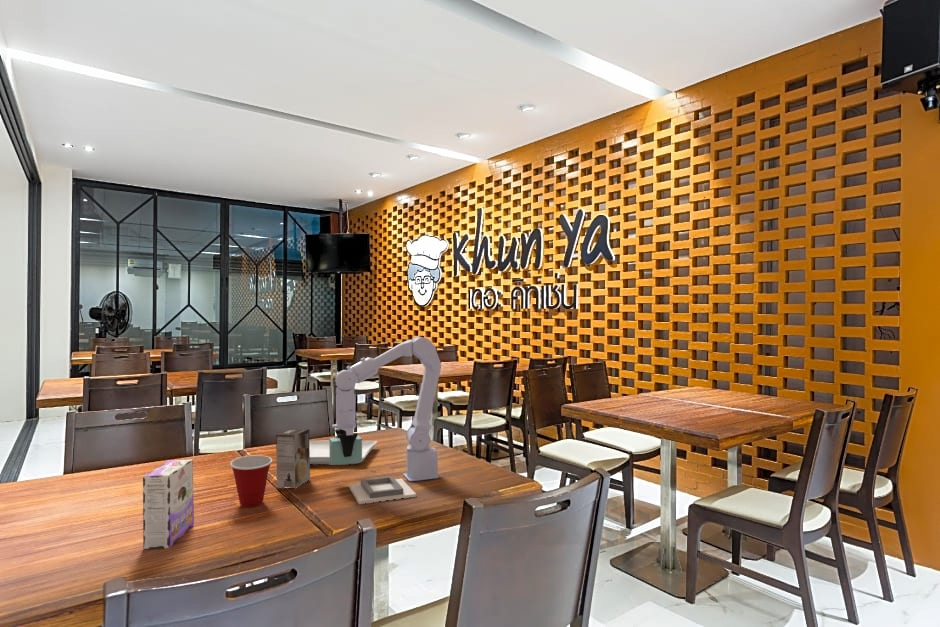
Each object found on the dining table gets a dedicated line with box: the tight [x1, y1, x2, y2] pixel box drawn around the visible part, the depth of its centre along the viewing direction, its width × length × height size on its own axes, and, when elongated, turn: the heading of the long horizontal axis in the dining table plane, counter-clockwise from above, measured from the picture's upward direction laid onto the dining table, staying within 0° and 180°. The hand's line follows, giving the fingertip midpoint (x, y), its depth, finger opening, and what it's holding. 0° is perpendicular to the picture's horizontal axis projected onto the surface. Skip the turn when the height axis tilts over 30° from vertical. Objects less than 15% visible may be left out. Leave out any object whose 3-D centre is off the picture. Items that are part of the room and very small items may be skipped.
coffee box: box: [275, 428, 311, 489], centre depth 171 cm, size 9×6×16 cm
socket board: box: [348, 475, 417, 505], centre depth 163 cm, size 16×16×2 cm
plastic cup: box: [229, 454, 273, 508], centre depth 154 cm, size 11×11×12 cm
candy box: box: [142, 458, 195, 550], centre depth 131 cm, size 14×6×16 cm, turn 5°
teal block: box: [328, 435, 363, 466], centre depth 172 cm, size 9×5×7 cm, turn 112°
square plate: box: [309, 439, 378, 466], centre depth 203 cm, size 27×27×4 cm
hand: (346, 454), depth 172 cm, fingers closed on teal block, 5 cm apart
